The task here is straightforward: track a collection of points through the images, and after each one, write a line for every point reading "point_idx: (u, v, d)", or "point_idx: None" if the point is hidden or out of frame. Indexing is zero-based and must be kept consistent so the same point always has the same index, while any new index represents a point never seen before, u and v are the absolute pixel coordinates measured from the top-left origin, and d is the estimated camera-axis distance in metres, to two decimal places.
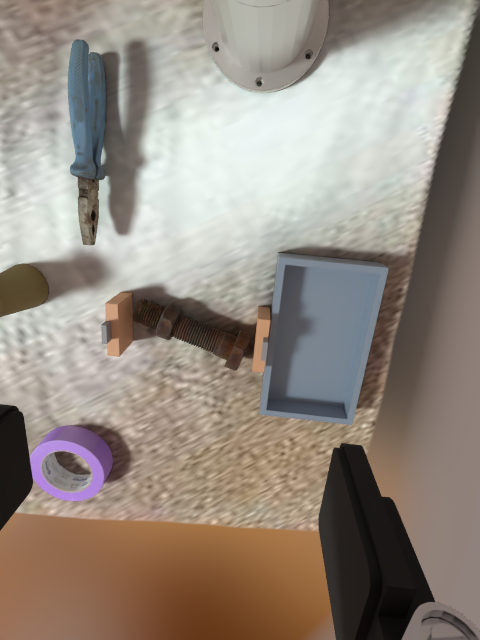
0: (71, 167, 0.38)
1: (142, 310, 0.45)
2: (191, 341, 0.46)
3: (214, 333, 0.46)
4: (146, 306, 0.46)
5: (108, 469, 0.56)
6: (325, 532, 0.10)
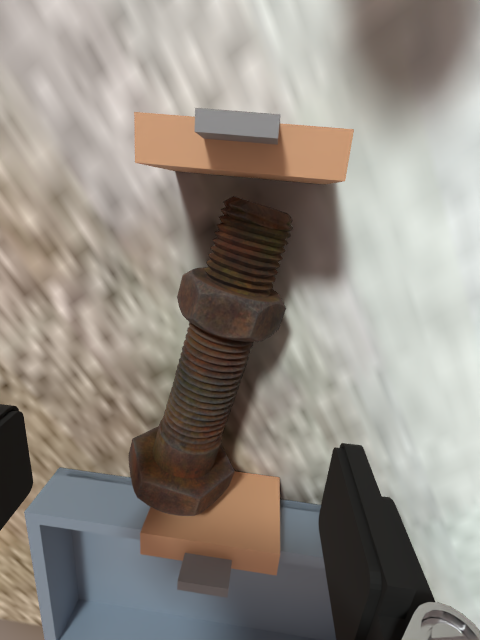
0: None
1: (268, 237, 0.14)
2: (190, 379, 0.17)
3: (219, 428, 0.18)
4: (279, 245, 0.15)
5: None
6: (325, 532, 0.10)
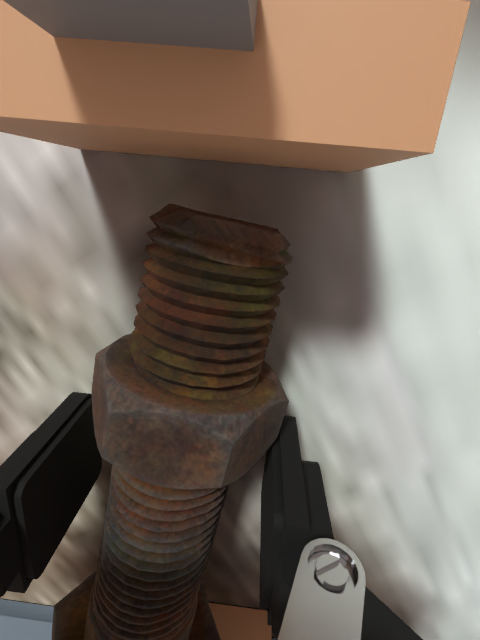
0: None
1: (243, 285, 0.07)
2: (123, 542, 0.09)
3: (187, 603, 0.10)
4: (267, 297, 0.07)
5: None
6: (263, 496, 0.11)
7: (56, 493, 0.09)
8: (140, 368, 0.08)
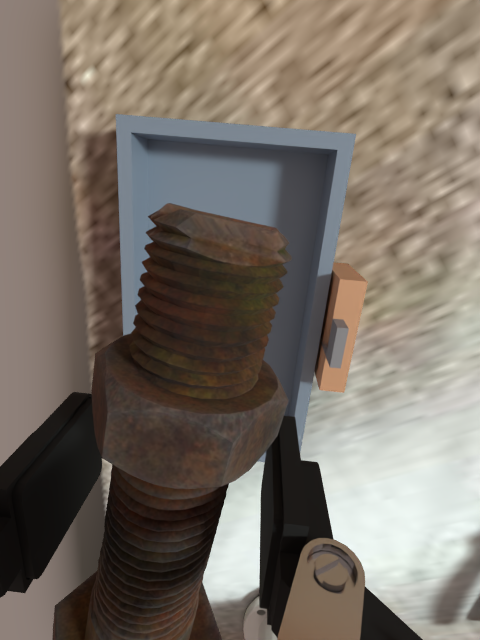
0: None
1: (242, 284, 0.07)
2: (124, 542, 0.09)
3: (188, 603, 0.10)
4: (266, 295, 0.07)
5: None
6: (262, 495, 0.11)
7: (56, 493, 0.09)
8: (140, 367, 0.08)
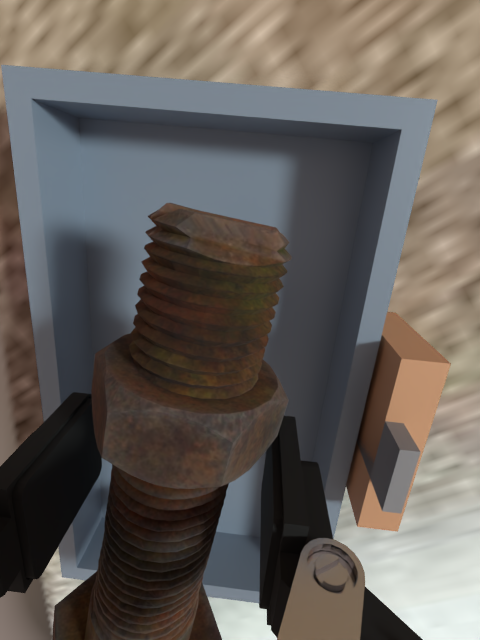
0: None
1: (242, 284, 0.07)
2: (124, 542, 0.09)
3: (188, 603, 0.10)
4: (266, 295, 0.07)
5: None
6: (262, 495, 0.11)
7: (56, 493, 0.09)
8: (139, 367, 0.08)
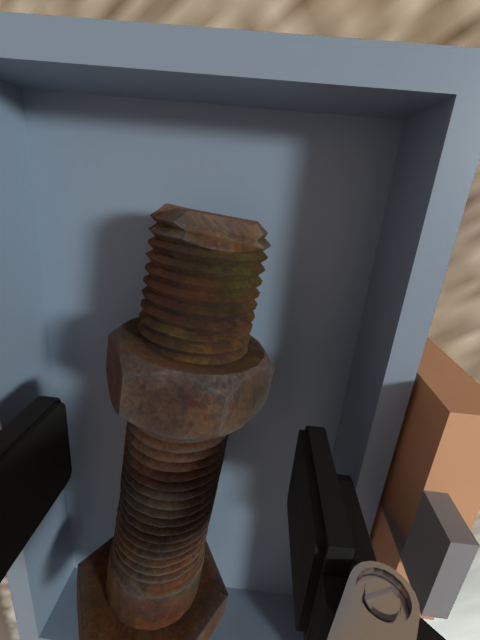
0: None
1: (229, 267, 0.08)
2: (138, 494, 0.11)
3: (195, 551, 0.12)
4: (249, 277, 0.09)
5: None
6: (291, 509, 0.11)
7: (15, 501, 0.09)
8: (147, 342, 0.09)
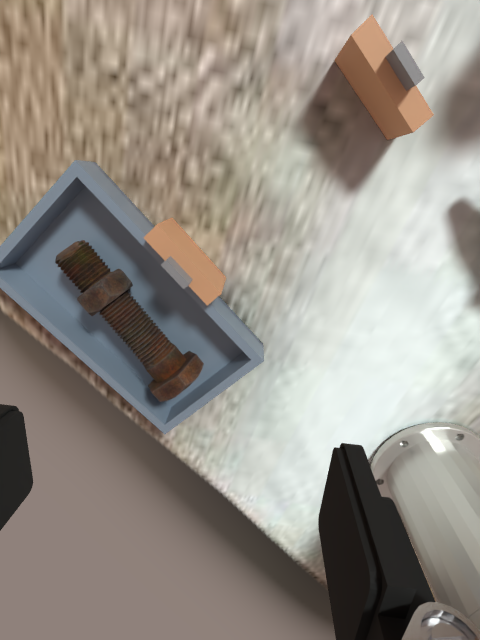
0: None
1: (76, 257, 0.28)
2: (122, 335, 0.31)
3: (159, 342, 0.31)
4: (85, 254, 0.29)
5: None
6: (325, 532, 0.10)
7: None
8: (83, 293, 0.30)
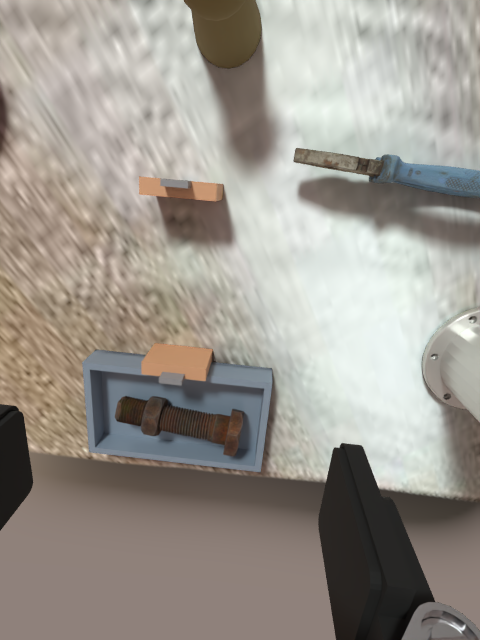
0: (397, 160, 0.30)
1: (123, 411, 0.42)
2: (181, 433, 0.42)
3: (204, 420, 0.42)
4: (126, 405, 0.42)
5: None
6: (325, 532, 0.10)
7: None
8: None
